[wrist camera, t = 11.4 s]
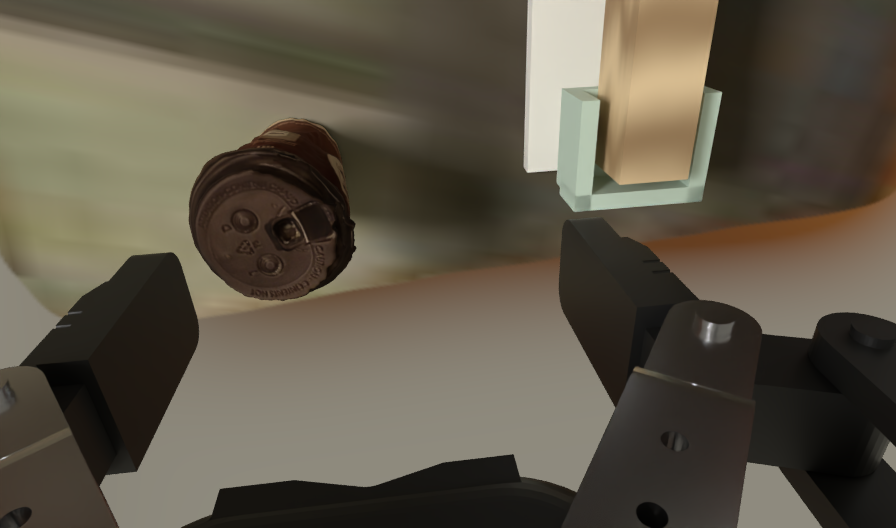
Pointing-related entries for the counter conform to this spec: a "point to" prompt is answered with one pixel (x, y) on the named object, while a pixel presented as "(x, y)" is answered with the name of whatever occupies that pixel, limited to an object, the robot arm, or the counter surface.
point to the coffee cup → (275, 213)
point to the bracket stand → (589, 112)
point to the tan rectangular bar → (651, 87)
